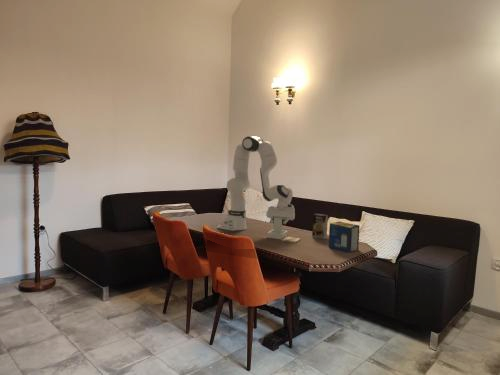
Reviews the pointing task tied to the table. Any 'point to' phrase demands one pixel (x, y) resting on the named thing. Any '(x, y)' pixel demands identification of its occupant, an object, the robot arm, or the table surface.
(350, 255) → the table surface
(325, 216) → the coffee box
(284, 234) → the bin
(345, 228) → the protein box
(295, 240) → the pad
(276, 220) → the green block
